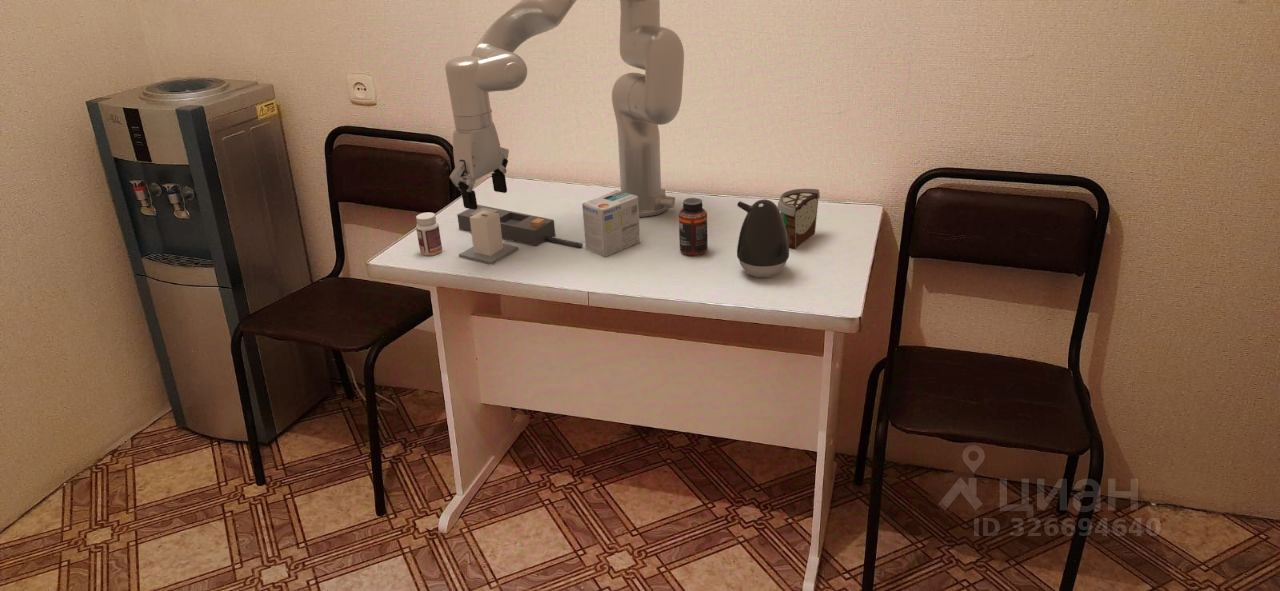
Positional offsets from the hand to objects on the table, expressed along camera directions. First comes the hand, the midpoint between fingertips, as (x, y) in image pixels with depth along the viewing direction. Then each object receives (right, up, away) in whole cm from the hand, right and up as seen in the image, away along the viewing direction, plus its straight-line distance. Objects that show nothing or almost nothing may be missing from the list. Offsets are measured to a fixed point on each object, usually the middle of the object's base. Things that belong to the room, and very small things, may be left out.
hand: (486, 199), depth 189 cm
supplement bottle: (+43, -11, +2) cm, 45 cm away
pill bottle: (-13, -11, +7) cm, 18 cm away
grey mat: (0, -11, +5) cm, 12 cm away
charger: (0, -10, +5) cm, 11 cm away
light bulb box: (+26, -10, +6) cm, 29 cm away
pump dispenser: (+56, -16, -9) cm, 59 cm away
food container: (+65, -8, +5) cm, 66 cm away
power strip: (+6, -7, +13) cm, 16 cm away
